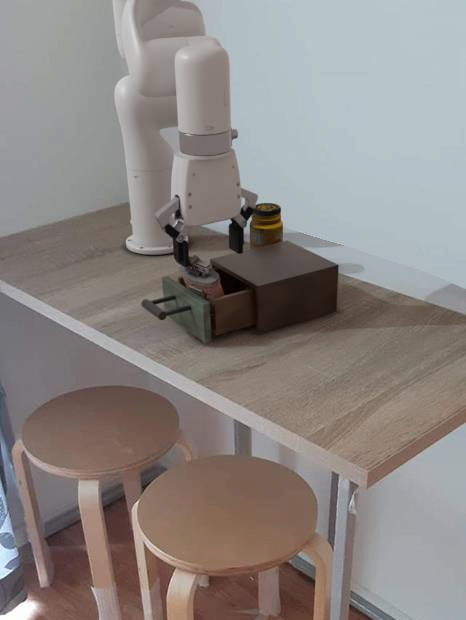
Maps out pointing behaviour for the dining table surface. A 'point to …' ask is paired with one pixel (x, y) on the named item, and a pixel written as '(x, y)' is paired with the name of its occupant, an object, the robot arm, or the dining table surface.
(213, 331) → the drawer
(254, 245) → the condiment
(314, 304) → the cabinet
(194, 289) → the lighter
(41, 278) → the dining table surface
